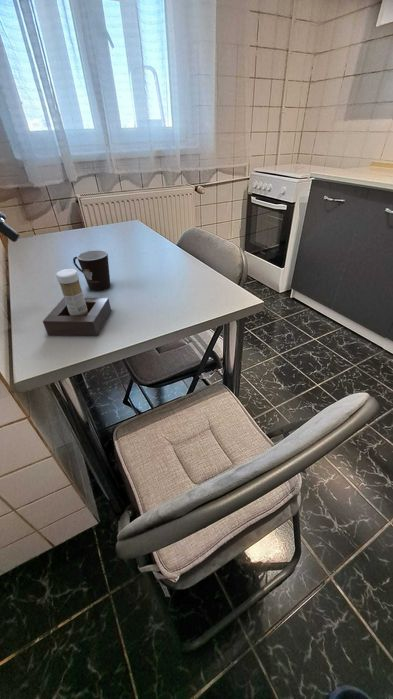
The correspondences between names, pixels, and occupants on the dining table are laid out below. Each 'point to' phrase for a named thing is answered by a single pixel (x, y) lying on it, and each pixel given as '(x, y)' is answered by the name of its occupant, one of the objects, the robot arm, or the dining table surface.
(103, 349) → the dining table surface
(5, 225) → the robot arm
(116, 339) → the dining table surface
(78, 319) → the bottle rack
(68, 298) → the sprinkles bottle
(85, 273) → the coffee mug
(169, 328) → the dining table surface
